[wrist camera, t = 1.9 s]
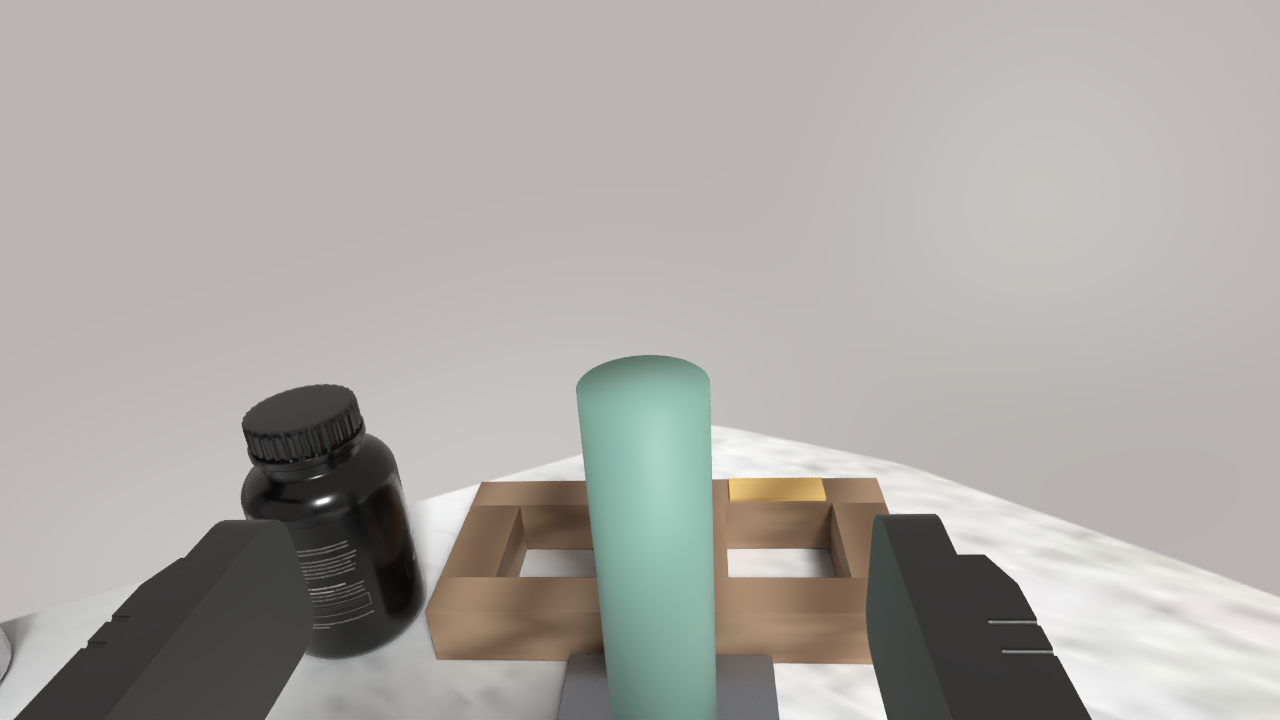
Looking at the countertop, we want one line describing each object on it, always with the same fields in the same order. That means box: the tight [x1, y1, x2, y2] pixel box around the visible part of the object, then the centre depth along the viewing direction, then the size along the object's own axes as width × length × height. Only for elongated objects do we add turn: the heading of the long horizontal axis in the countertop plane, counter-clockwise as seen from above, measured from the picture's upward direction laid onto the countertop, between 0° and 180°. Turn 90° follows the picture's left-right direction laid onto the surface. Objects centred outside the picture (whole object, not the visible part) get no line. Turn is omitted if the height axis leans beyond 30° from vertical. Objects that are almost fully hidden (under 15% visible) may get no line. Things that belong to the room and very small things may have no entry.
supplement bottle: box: [241, 384, 426, 659], centre depth 36 cm, size 7×7×12 cm
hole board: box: [425, 478, 889, 664], centre depth 38 cm, size 22×10×3 cm, turn 86°
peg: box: [576, 355, 717, 720], centre depth 26 cm, size 4×4×16 cm
